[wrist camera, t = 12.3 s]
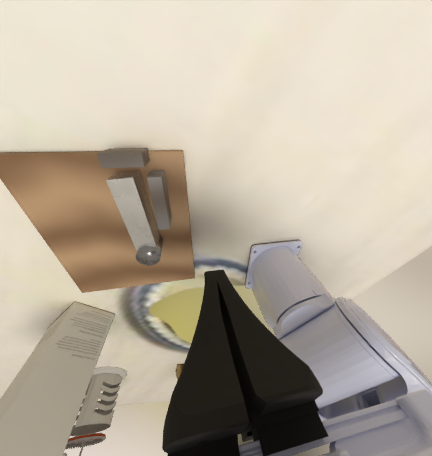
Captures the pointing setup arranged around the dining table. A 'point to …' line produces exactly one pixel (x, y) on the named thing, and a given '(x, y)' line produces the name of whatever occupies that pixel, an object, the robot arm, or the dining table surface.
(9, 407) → the skincare box
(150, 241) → the swing bar
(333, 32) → the dining table surface
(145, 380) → the dining table surface
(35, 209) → the lock board
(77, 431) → the french press
